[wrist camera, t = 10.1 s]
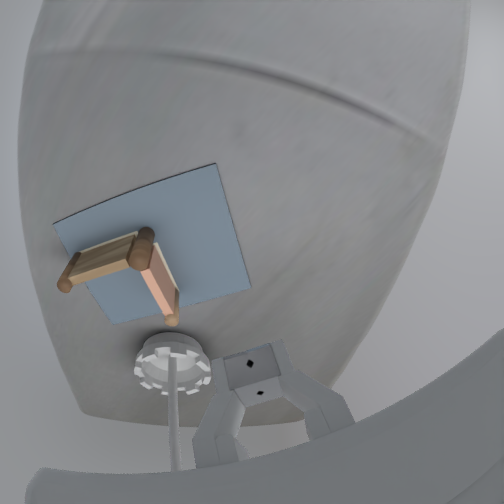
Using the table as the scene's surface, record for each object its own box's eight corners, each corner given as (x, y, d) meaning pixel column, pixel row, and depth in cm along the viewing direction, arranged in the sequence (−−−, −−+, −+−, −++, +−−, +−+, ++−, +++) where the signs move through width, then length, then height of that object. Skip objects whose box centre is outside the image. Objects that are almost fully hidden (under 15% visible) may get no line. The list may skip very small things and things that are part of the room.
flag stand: (149, 375, 49) (151, 520, 24) (127, 331, 43) (112, 509, 17) (213, 369, 51) (237, 518, 26) (202, 323, 44) (227, 512, 19)
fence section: (156, 244, 35) (151, 269, 30) (181, 295, 40) (180, 324, 35) (144, 248, 35) (137, 274, 30) (169, 298, 39) (168, 327, 35)
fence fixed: (70, 253, 33) (53, 281, 28) (151, 224, 34) (143, 251, 28) (77, 266, 34) (62, 295, 29) (157, 239, 35) (151, 267, 29)
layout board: (53, 223, 31) (52, 224, 31) (215, 163, 32) (215, 164, 32) (113, 323, 41) (112, 325, 41) (250, 286, 42) (251, 288, 42)
